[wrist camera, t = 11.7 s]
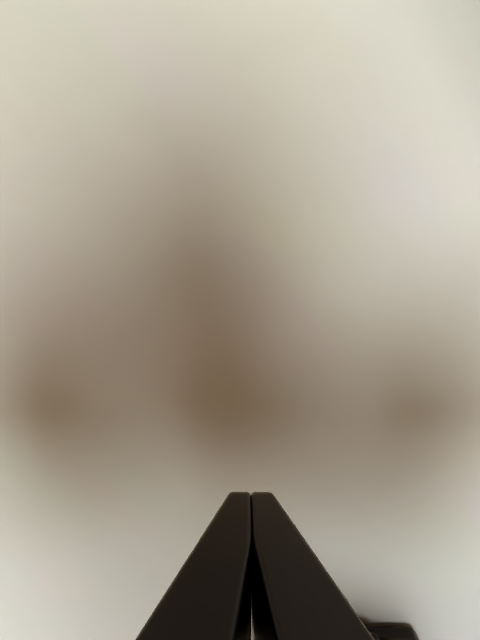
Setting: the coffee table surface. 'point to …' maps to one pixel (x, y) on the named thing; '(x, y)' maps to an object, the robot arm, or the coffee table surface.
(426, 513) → the coffee table surface
